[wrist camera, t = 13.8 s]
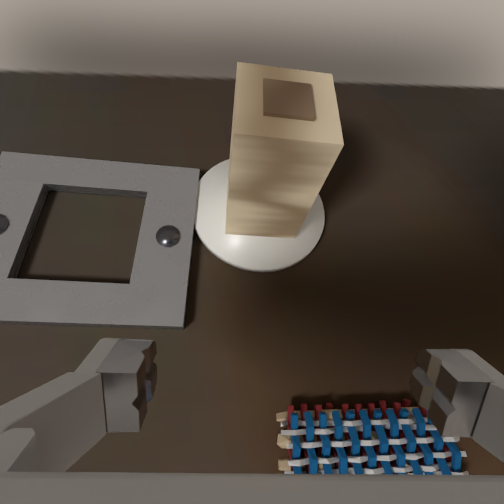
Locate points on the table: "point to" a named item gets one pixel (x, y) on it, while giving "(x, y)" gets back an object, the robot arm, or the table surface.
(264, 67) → the block
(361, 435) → the woven mat
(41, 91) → the table surface
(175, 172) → the rail plate
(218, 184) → the pad
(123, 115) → the table surface
